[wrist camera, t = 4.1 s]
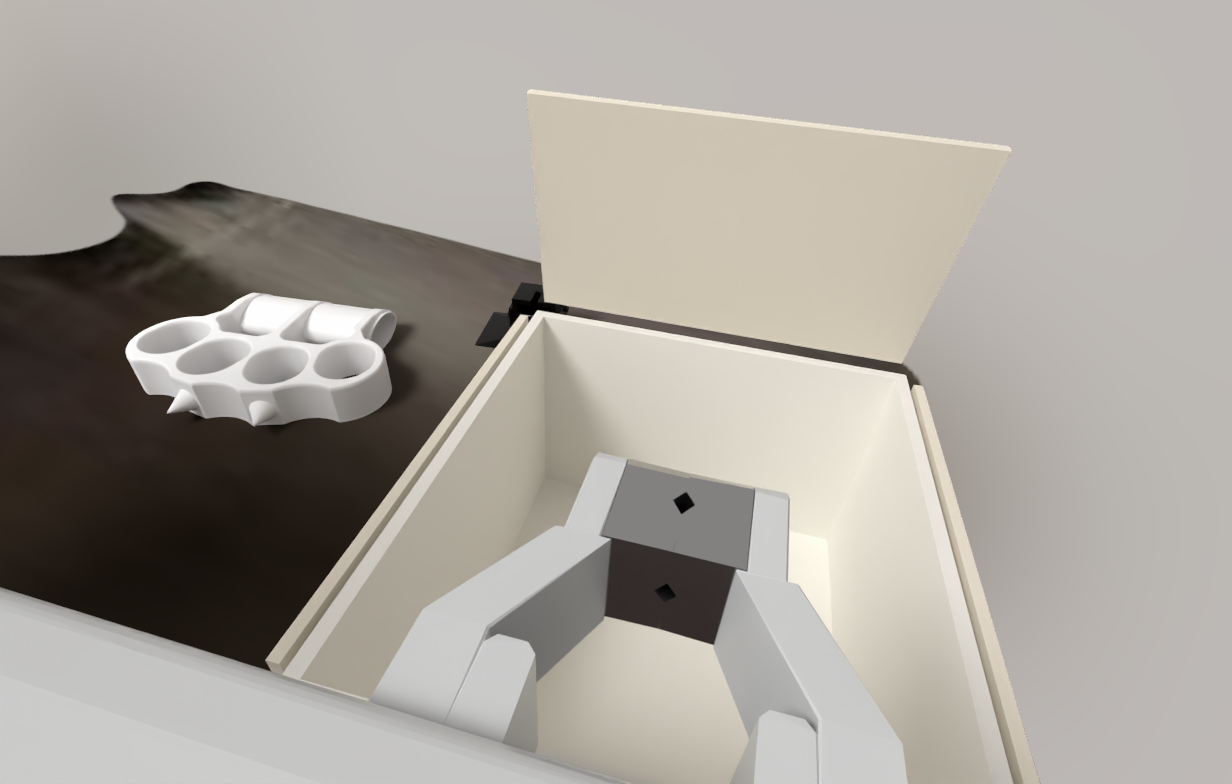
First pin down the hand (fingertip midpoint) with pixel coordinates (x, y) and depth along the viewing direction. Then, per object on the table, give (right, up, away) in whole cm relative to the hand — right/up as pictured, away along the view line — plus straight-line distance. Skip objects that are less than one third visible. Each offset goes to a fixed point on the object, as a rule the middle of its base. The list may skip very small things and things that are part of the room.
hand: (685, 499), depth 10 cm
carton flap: (+4, +8, +15) cm, 18 cm away
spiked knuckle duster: (-26, +3, +36) cm, 44 cm away
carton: (+1, -11, +19) cm, 22 cm away
